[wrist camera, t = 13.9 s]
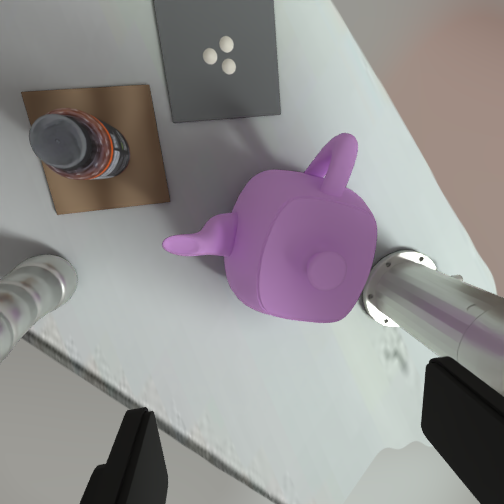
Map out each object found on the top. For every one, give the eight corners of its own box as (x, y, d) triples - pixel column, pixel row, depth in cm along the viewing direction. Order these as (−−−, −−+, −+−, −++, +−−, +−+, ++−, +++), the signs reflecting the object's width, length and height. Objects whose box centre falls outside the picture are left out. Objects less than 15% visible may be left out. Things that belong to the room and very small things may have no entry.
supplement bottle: (63, 148, 31) (-8, 134, 21) (102, 111, 31) (50, 78, 20) (106, 189, 33) (62, 196, 22) (143, 155, 33) (115, 145, 22)
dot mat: (271, -13, 31) (272, -15, 31) (280, 114, 35) (280, 114, 35) (151, -12, 29) (151, -14, 29) (173, 122, 33) (173, 122, 33)
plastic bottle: (93, 265, 36) (-30, 368, 17) (69, 308, 37) (-73, 452, 18) (40, 240, 34) (-165, 323, 15) (16, 286, 35) (-206, 419, 16)
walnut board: (149, 85, 32) (148, 84, 31) (170, 201, 35) (169, 201, 35) (23, 93, 30) (20, 91, 29) (59, 214, 34) (57, 214, 33)
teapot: (361, 160, 38) (456, 151, 24) (319, 301, 43) (378, 364, 29) (193, 114, 33) (187, 68, 19) (166, 279, 38) (145, 342, 24)
